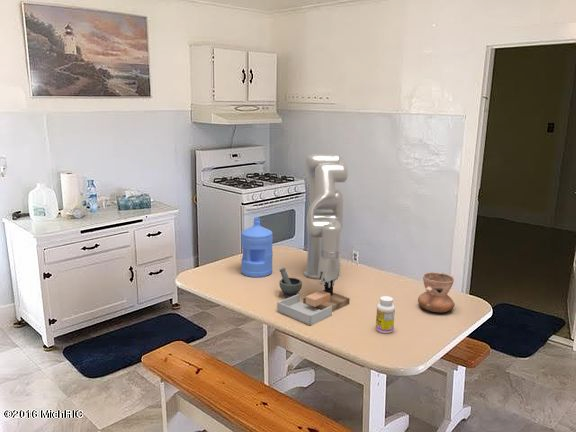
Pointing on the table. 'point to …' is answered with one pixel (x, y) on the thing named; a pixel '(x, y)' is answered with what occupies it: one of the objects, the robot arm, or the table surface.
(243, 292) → the table surface
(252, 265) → the water jug
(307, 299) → the tile
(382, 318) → the supplement bottle
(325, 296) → the tile
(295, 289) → the mortar and pestle
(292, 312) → the tray
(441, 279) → the ceramic jug
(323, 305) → the board
